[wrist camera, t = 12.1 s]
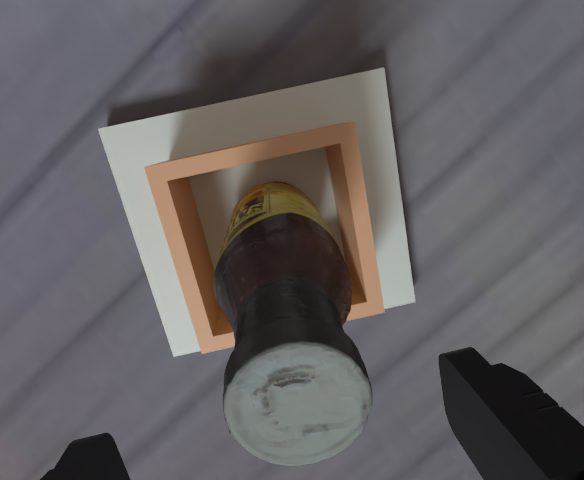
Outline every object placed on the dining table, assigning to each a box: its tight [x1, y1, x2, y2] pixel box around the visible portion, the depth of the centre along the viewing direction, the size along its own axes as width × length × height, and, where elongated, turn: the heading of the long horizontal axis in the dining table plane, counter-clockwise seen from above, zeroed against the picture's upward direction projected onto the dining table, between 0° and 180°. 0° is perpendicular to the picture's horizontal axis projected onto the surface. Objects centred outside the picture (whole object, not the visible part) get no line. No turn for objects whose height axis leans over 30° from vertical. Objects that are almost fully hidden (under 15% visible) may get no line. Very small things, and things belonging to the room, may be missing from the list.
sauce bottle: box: [213, 181, 372, 466], centre depth 20 cm, size 6×6×20 cm
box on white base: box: [98, 67, 415, 357], centre depth 27 cm, size 20×18×8 cm
